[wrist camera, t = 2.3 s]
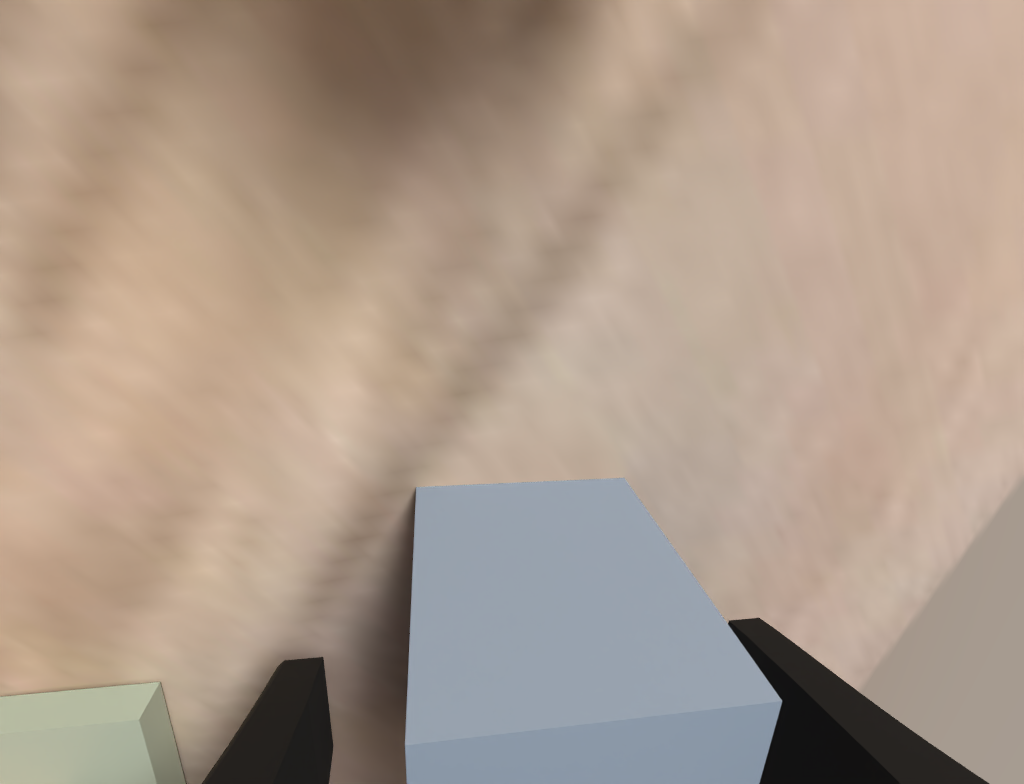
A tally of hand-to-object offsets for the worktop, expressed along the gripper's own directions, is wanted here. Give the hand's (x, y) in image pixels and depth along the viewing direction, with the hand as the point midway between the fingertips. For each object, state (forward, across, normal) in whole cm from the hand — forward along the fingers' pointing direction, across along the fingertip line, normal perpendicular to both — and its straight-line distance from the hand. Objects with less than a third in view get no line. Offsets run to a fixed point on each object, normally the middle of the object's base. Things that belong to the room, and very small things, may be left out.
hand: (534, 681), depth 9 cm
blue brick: (+2, 0, 0) cm, 2 cm away
